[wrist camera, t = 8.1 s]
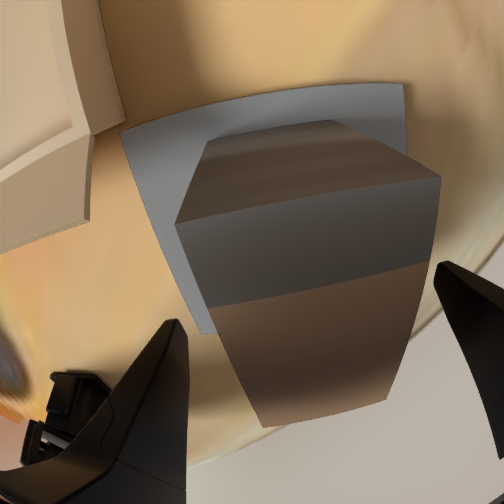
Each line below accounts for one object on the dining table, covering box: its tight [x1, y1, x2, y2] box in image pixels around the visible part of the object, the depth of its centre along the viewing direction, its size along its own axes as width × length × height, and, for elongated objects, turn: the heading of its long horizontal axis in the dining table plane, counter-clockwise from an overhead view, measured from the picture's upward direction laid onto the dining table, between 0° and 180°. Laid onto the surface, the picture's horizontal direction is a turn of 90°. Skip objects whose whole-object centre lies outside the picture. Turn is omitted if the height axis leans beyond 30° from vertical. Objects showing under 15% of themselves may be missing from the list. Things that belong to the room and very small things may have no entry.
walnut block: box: [174, 119, 441, 428], centre depth 10 cm, size 9×5×7 cm, turn 11°
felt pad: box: [119, 83, 407, 335], centre depth 13 cm, size 12×12×1 cm
